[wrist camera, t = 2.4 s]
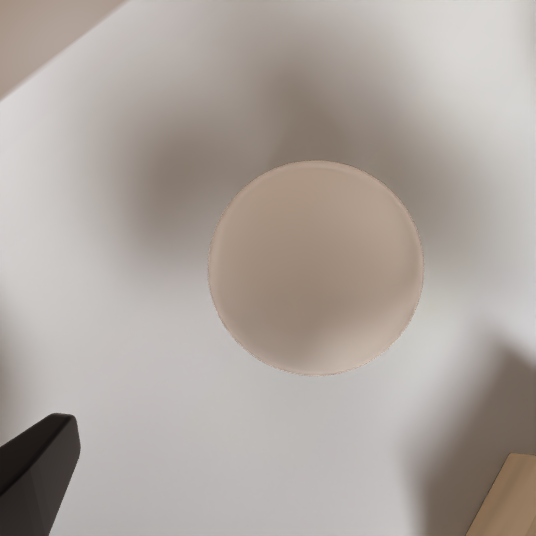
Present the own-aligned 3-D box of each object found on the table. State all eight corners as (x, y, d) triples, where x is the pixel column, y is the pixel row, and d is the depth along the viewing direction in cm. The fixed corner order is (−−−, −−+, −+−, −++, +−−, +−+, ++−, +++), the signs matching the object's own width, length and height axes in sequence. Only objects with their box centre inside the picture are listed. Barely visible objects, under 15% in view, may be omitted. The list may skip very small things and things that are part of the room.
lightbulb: (359, 408, 20) (452, 384, 10) (217, 380, 20) (159, 328, 10) (375, 273, 22) (466, 132, 12) (246, 250, 22) (223, 96, 12)
